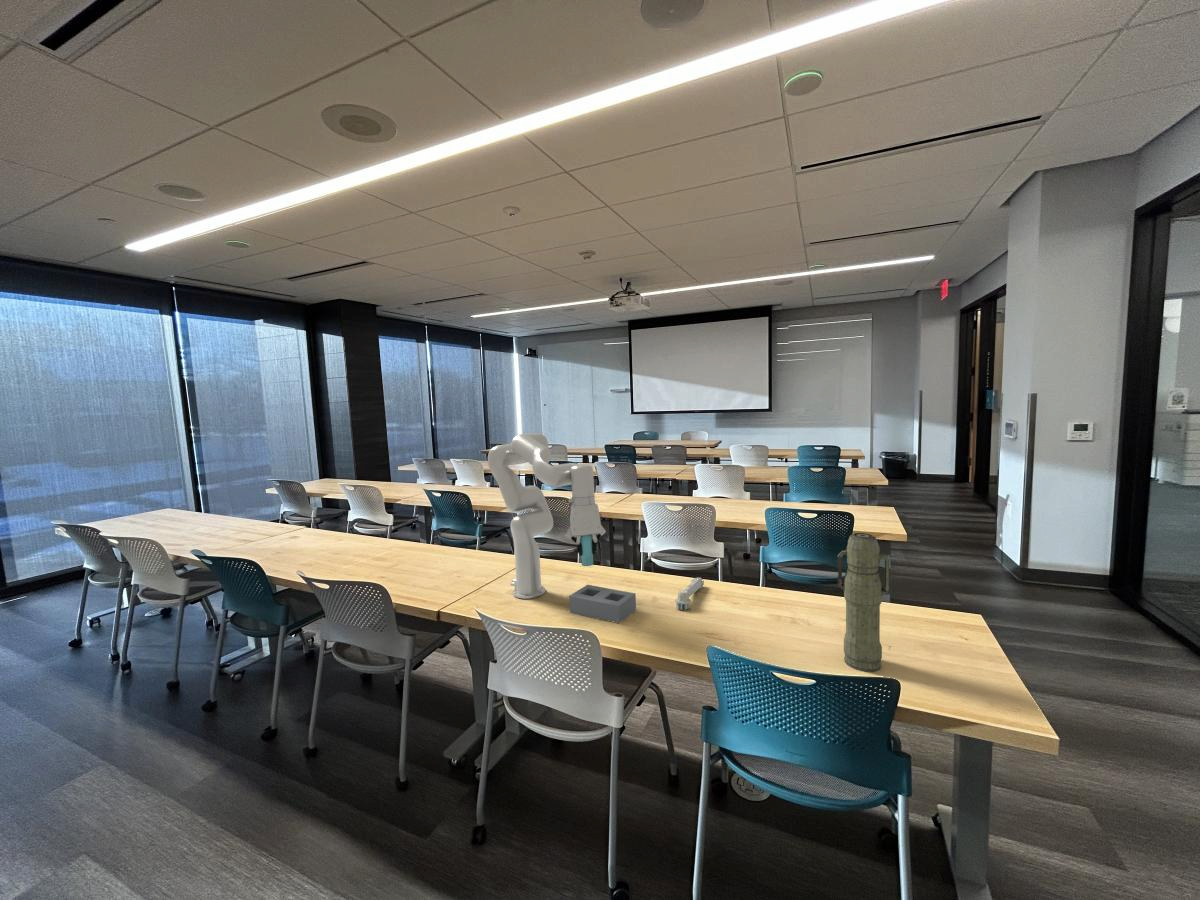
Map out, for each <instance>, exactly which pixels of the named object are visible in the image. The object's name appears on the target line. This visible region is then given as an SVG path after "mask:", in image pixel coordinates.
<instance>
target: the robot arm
mask: <svg viewBox="0 0 1200 900" xmlns="http://www.w3.org/2000/svg"><path fill="white" fill-rule="evenodd" d="M551 457H552V451H551V449H550V448H549V441H548V439H547V437H546V436H545V435H544V434H542V433H540V432H534V433H533V432H532V433H521V434H520V433H519V434H517V435H516V436H515V437H513V438H512V440H511V442H510V443H506V444H500V445H499V444H498V445H495V446H493V447H492V448H491V449H490V450H489V452H488V455H487V465H488V468H489V471H490V473H491V474H492V476H493V478H494V479H495V482H496V483H497V485H498V488H499V491H500V493H501V495H502V498H503V500H504V501H503V502H504V504H505V506H506V508H507V510H508V512H510V513H519V512H525V511H528V510H530V511H529V512H525V513H520V514H518V515H516V516H514V517H513V518H512V519H511V521H510V531H511V532H510V533H511V536H512V541H513V547H514V563H515V564H514V565H515V578H513V579H512V580H511V582H510V583H509V584H510V585H509V586H513V587H514V589H513V591H512V595H513V597H515V598H518V599H524V600H525V599H526V600H527V599H535V598H539V597H540V596H543V595H544V594H545V593H546V587H545V586H543V585H542V577H541V576H542V573H541V557H540V547H539V544H538V542H537V541H536V540H535V538H534V537H536V536H541V535H543V534H547V533H549V532H550V531H551V530H552V529H553V527H554V518H553V514H552V512H551V509H550V508H549V505H548V502H547V500H546V497H545V495H544V493H543V491H542V490H541V488H540V487H538V486H536V485H526V486H523V484H522V483H521V480H520V477H519V475H518V474H517V473H516V472H515V471H514V470H513V469H512V468H510V467H509V466H514V465H522V464H527V463H529V464H530V465H532V471H533V474H534V476H535V478H536V479H537V480H539V481H540V482H541V483H542V484H544V485H545V486H548V487H550V488H560V487H564V486H569V485H570V486H571V494H572V496H571V498H568V504H572V505H570V512H569V515H570V516H569V527H568V529H567V530H566V532H565V534H564V535H565V537H566V538H567V539H569V540H571V541H573V542H574V543H575V544H576V553H577V554H578V555H579V557H581V556H582V545H581V543H580V538H581V536H585V535H592V550H593V555H596V552H597V551H598V550H597V549H598V547H597V543H598V541H599V540H600V538H601V537H602V536H604V535H605V533H607V531H606V529H605V528H604V527H603V525H602V523H601V515H600V509H599V506H598V504H597V503H596V500H595V499H596V495H595V480H594V479H595V478H594V469H593V466H592V465H591V464H584V463H583V464H579V463H576V462H568V463H559V464H555V465H552V464H550V461H551Z"/></svg>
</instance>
